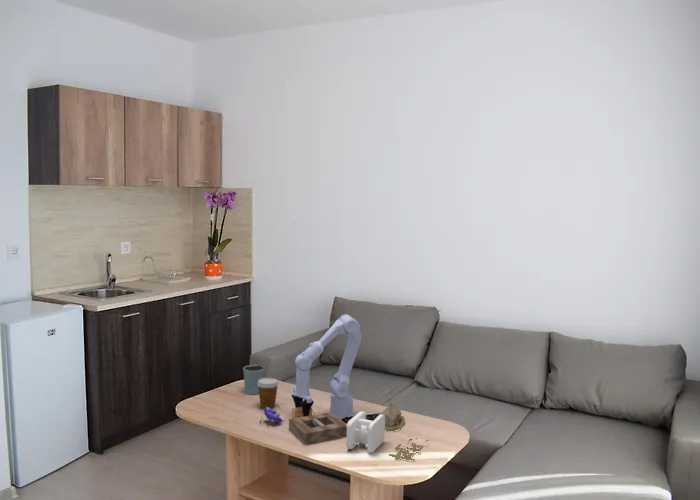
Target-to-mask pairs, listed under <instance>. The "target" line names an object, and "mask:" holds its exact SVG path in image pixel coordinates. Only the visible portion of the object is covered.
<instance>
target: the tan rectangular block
mask: <svg viewBox="0 0 700 500" xmlns="http://www.w3.org/2000/svg"><path fill="white" fill-rule="evenodd" d="M291 412H292V413H291V419H293V418H299V415H303V412H302V407H297V408H295V407H292V409H291ZM310 415H313V407H311V409H310V412H309V416H310Z"/></svg>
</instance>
